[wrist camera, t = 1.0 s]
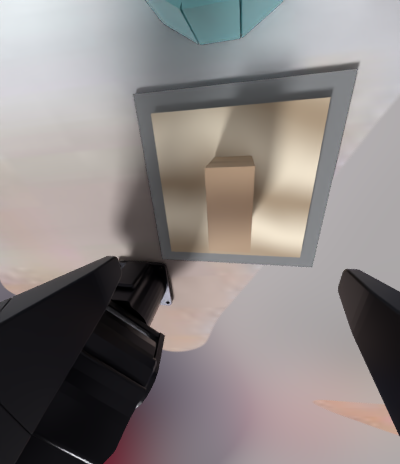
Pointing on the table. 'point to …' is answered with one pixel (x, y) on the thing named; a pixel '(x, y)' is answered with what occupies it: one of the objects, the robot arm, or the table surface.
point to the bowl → (212, 17)
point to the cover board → (272, 163)
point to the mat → (246, 94)
